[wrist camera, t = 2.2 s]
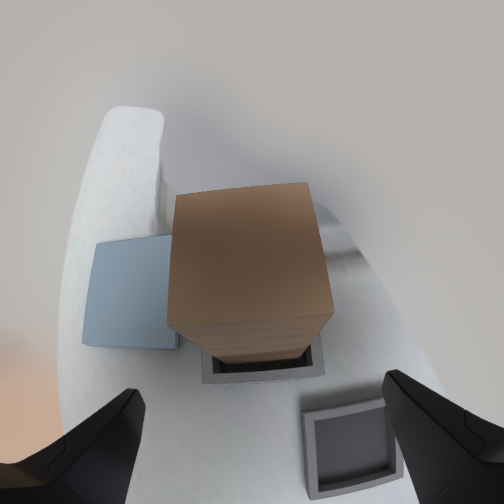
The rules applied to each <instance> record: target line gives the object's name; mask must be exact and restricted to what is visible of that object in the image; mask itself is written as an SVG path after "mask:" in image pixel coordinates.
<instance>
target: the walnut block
mask: <svg viewBox="0 0 504 504" xmlns="http://www.w3.org/2000/svg"><path fill="white" fill-rule="evenodd" d="M333 313H334V307H333V301H332V295H331V289H330V284H329V278H328V273H327V268H326V263H325V258H324V253H323V248H322V243H321V239H320V234H319V229H318V225H317V220H316V216H315V212H314V207H313V203H312V199H311V195H310V191H309V187H308V183H307V182H304V183H288V184H275V185H264V186H252V187H243V188H233V189H223V190H214V191H206V192H198V193H190V194H182V195H176V204H175V212H174V222H173V232H172V243H171V255H170V268H169V285H168V305H167V326H168V327H170V328H171V329H173V330H174V331H176V332H177V333H179V334H180V335H182V336H183V337H185V338H186V339H188V340H189V341H191V342H192V343H194V344H195V345H197V346H198V347H200V348H201V349H203V350H204V351H206V352H208V353H209V354H211V355H212V356H214V357H216V358H217V359H219V360H221V361H222V362H224V363H226V364H227V365H229V366H244V365H258V364H270V363H281V362H291V361H297V360H298V358H299V357H300V356H301V355H302V354H303V352H304V351H305V350H306V349H307V347H308V346H309V345H310V344H311V342H312V341H313V340H314V338H315V337H316V336H317V335H318V333H319V332H320V331H321V329H322V328H323V327H324V325H325V324H326V323H327V321H328V320H329V319H330V317H331V316H332V315H333Z"/></svg>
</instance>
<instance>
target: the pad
mask: <svg viewBox="0 0 504 504" xmlns="http://www.w3.org/2000/svg"><path fill="white" fill-rule="evenodd" d="M171 243H172V235H164V236H155V237H147V238H138V239H130V240H122V241H114V242H106V243H99V244H97V245H96V250H95V255H94V260H93V265H92V270H91V276H90V282H89V288H88V295H87V302H86V309H85V318H84V328H83V339H82V344H85V345H87V346H97V347H113V348H139V349H179V333H177V332H176V331H174V330H173V329H171V328H170V327H168V326H167V305H168V285H169V268H170V255H171Z"/></svg>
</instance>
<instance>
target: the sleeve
mask: <svg viewBox="0 0 504 504" xmlns="http://www.w3.org/2000/svg"><path fill="white" fill-rule="evenodd" d="M305 351H306V360H307V367H299V368H290V369H281V370H270V371H257V372H242V373H220V360H219V359H217V358H216V357H214V356H212V355H211V354H209V353H208V352H206V351H204V350H203V349H201V353H202V382H203V384H206V385H235V384H253V383H267V382H278V381H288V380H297V379H305V378H312V377H318V376H322V375H325V372H324V363H323V355H322V346H321V339H320V332H319V333H318V335H317V336H316V337H315V338H314V340H313V341H312V342H311V344H310V345H309V346H308V347H307V349H306V350H305Z"/></svg>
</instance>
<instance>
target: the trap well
mask: <svg viewBox="0 0 504 504" xmlns="http://www.w3.org/2000/svg"><path fill="white" fill-rule="evenodd" d="M301 414H302V426H303V440H304V454H305V470H306V488H307V494H308V497H309V500H317V499H323V498H328V497H333V496H338V495H343V494H348V493H352V492H356V491H360V490H364V489H367V488H371V487H375V486H378V485H381V484H384V483H388V482H391V481H394V480H397V479H399V478H402V477H403V455H402V452H401V450H400V447H399V444H398V442H397V439H396V437H395V434H394V431H393V429H392V426H391V423H390V419H389V415H388V412H387V408H386V404H385V401H384V397H383V396H381V397H377V398H373V399H369V400H364V401H360V402H355V403H350V404H345V405H340V406H335V407H329V408H323V409H316V410H309V411H302V412H301Z"/></svg>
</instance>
